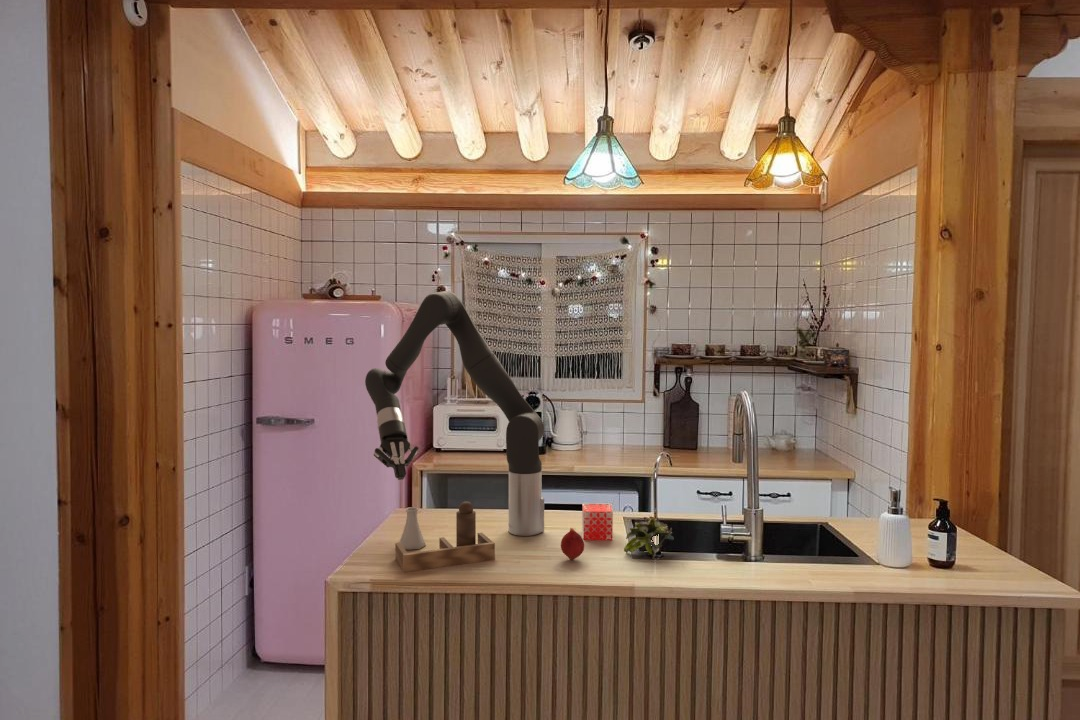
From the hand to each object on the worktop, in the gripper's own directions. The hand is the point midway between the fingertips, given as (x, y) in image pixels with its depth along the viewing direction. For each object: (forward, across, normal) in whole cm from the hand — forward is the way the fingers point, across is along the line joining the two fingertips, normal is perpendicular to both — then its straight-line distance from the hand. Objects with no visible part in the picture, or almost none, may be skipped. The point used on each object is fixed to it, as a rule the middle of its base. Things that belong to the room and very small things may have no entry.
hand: (401, 478), depth 191 cm
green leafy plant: (+40, +53, -21) cm, 70 cm away
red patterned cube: (+27, +49, -7) cm, 56 cm away
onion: (+37, +33, -17) cm, 52 cm away
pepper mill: (+27, +11, -6) cm, 30 cm away
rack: (+28, +5, -6) cm, 29 cm away
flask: (+19, 0, +4) cm, 19 cm away
